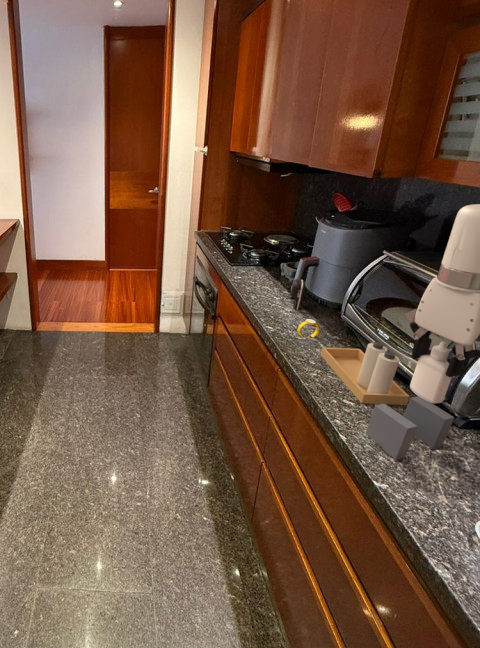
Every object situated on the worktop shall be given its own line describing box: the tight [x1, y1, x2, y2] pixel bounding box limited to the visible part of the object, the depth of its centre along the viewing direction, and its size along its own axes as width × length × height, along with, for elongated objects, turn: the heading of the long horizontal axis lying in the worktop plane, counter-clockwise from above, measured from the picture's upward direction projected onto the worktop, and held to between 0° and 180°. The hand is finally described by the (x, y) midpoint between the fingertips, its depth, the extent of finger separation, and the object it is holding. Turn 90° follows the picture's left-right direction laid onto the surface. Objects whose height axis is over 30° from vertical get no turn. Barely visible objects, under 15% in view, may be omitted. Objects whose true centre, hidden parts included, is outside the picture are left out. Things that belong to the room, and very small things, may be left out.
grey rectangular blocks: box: [365, 395, 455, 461], centre depth 80 cm, size 12×7×8 cm, turn 105°
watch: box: [297, 318, 320, 338], centre depth 121 cm, size 6×3×6 cm, turn 87°
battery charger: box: [289, 278, 306, 314], centre depth 138 cm, size 7×4×11 cm, turn 155°
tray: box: [320, 347, 411, 406], centre depth 101 cm, size 21×10×3 cm, turn 176°
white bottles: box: [357, 341, 400, 394], centre depth 94 cm, size 8×4×12 cm, turn 176°
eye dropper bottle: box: [409, 340, 453, 404], centre depth 74 cm, size 4×6×12 cm
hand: (435, 365), depth 74 cm, fingers closed on eye dropper bottle, 5 cm apart
